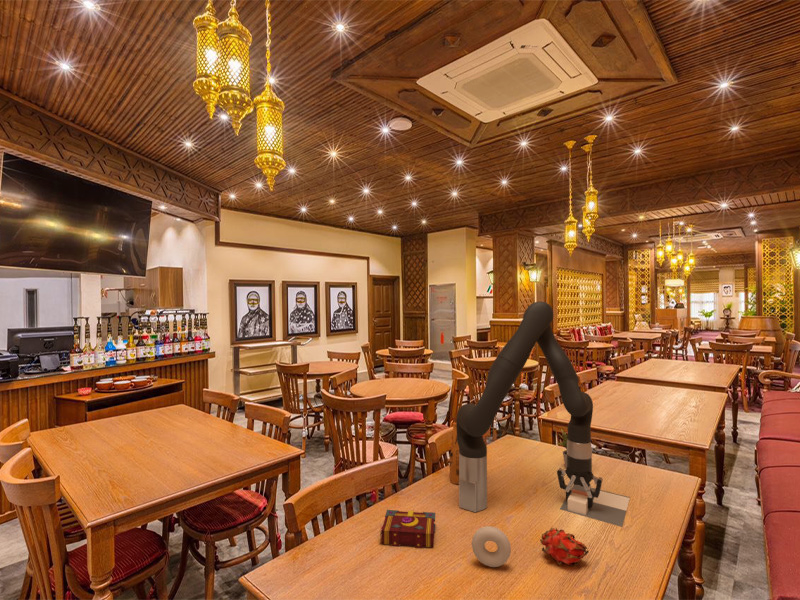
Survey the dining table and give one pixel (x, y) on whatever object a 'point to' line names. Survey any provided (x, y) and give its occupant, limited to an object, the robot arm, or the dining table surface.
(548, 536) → the dragon fruit
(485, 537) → the donut
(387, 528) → the decorative book
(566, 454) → the house plant
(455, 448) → the coffee package
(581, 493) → the card box
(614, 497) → the mat
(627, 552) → the dining table surface
